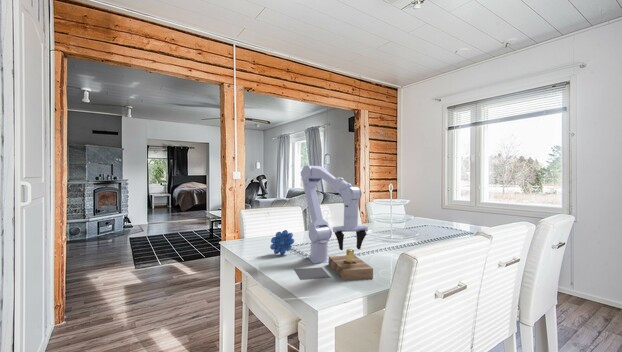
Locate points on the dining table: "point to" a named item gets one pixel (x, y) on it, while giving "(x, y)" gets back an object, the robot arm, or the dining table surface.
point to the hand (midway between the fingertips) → (349, 249)
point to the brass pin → (349, 256)
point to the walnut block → (350, 268)
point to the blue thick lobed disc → (282, 242)
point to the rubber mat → (311, 273)
